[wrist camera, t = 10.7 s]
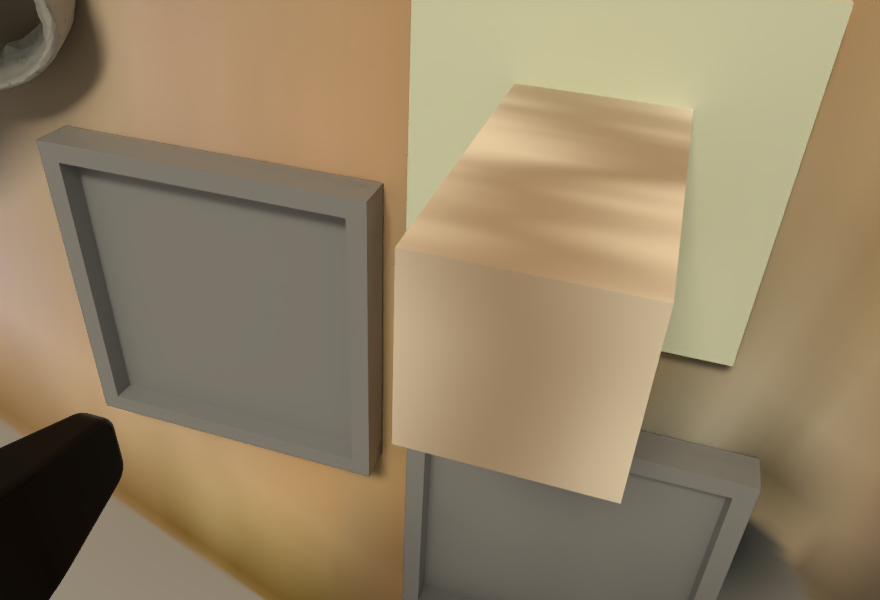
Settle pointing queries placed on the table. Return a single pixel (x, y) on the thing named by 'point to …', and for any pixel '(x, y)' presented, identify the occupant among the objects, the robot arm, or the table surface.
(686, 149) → the tan rectangular block
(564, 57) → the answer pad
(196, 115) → the table surface
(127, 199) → the tray
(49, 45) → the ceramic mug
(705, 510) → the tray
